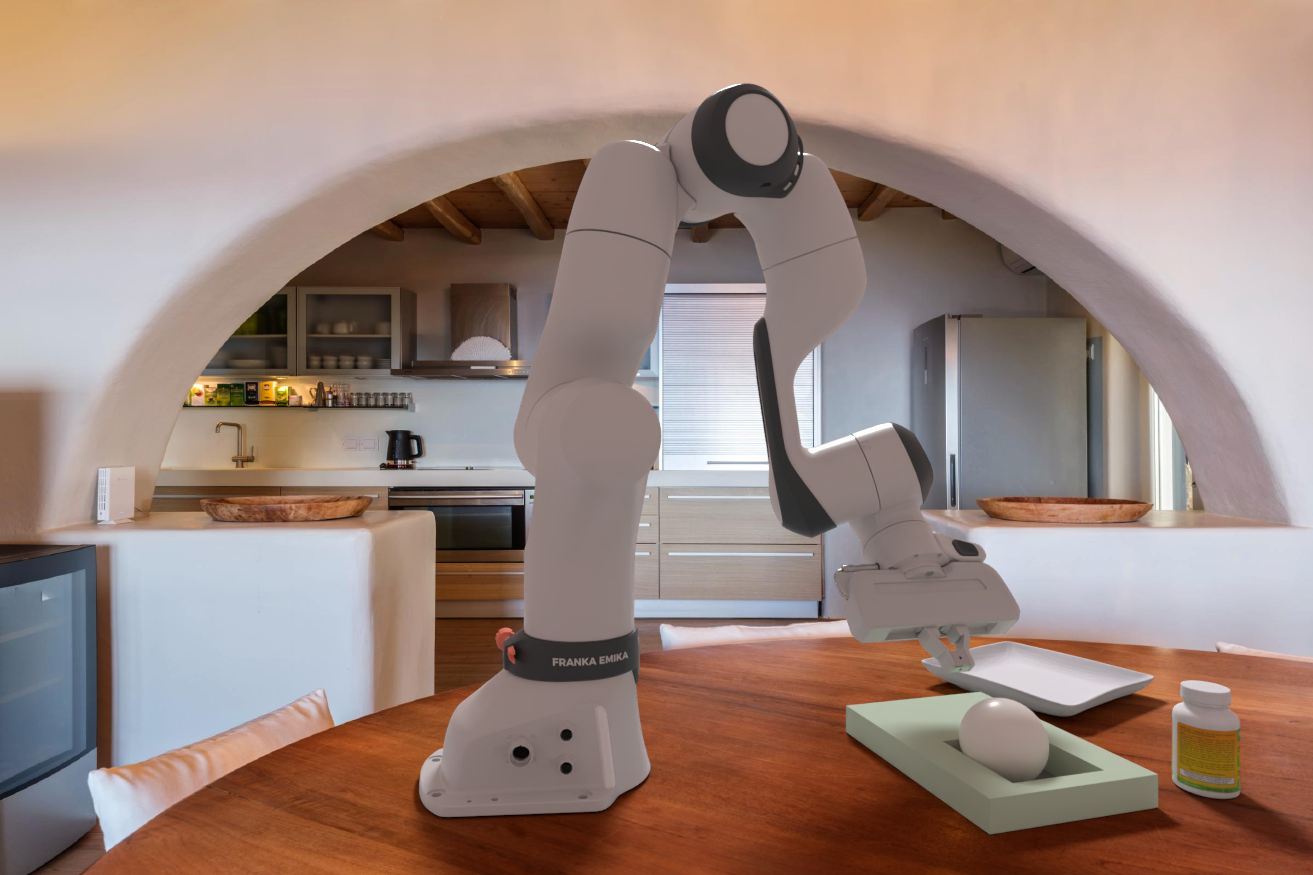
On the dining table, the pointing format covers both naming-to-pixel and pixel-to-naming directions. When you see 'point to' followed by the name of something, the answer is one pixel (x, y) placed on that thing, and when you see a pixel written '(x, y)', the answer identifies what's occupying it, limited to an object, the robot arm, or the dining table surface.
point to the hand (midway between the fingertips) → (960, 669)
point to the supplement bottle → (1206, 741)
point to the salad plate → (1042, 678)
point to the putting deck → (932, 757)
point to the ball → (1005, 739)
